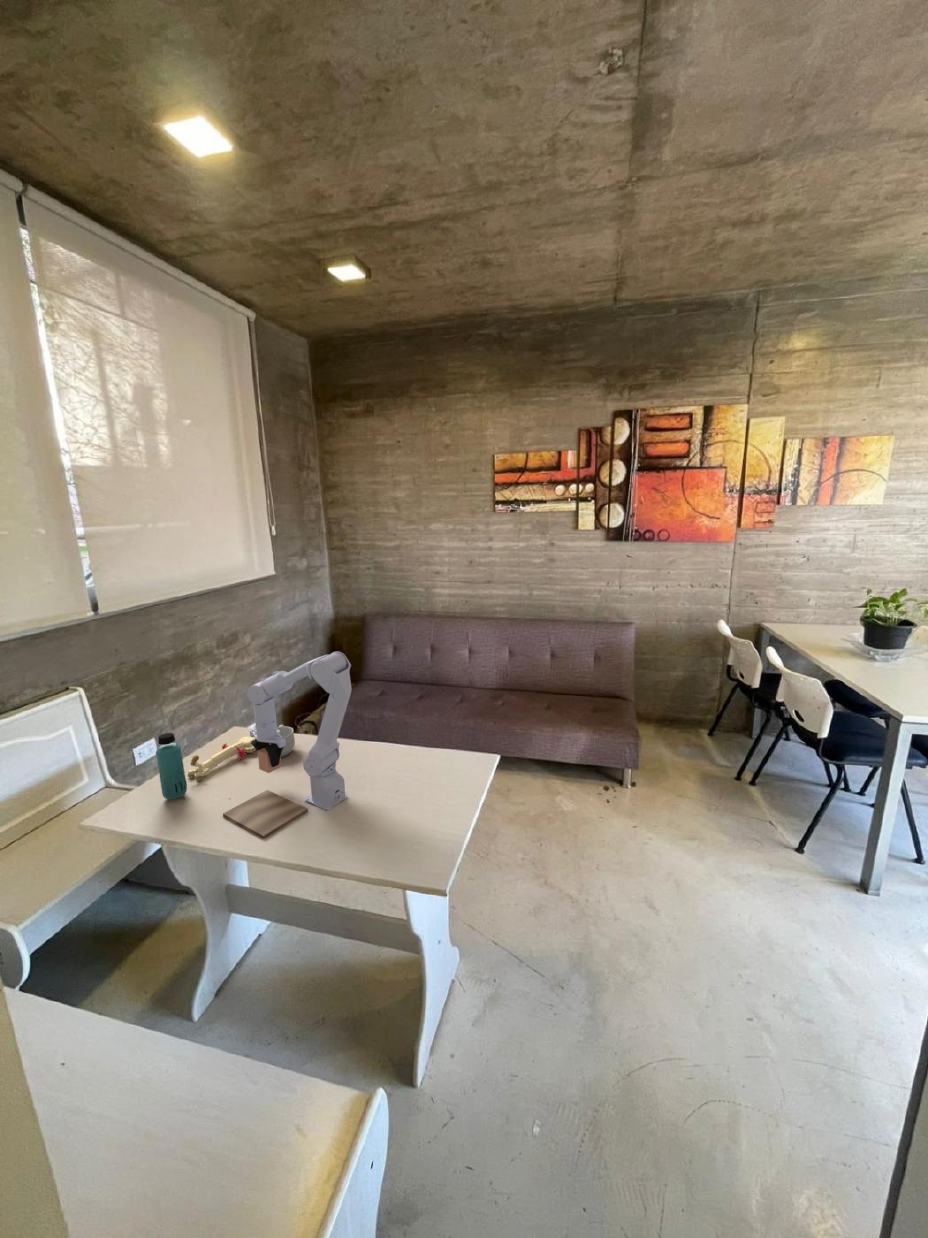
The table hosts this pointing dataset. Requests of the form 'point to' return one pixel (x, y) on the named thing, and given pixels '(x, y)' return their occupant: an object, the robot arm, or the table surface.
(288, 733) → the teacup
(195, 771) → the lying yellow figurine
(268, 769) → the block
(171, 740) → the beverage bottle
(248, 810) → the board
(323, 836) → the table surface
